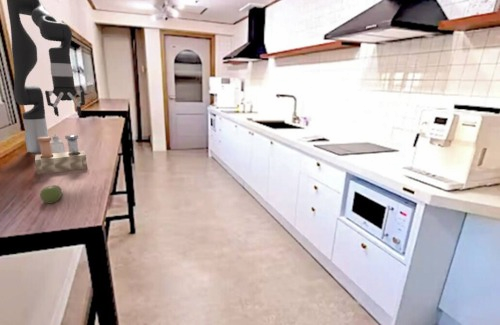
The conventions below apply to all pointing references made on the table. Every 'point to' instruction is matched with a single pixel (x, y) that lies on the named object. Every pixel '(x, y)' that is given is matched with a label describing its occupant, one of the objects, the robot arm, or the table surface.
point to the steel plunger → (72, 144)
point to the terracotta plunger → (45, 146)
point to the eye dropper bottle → (57, 145)
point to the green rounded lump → (51, 194)
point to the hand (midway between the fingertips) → (68, 115)
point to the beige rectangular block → (60, 162)
